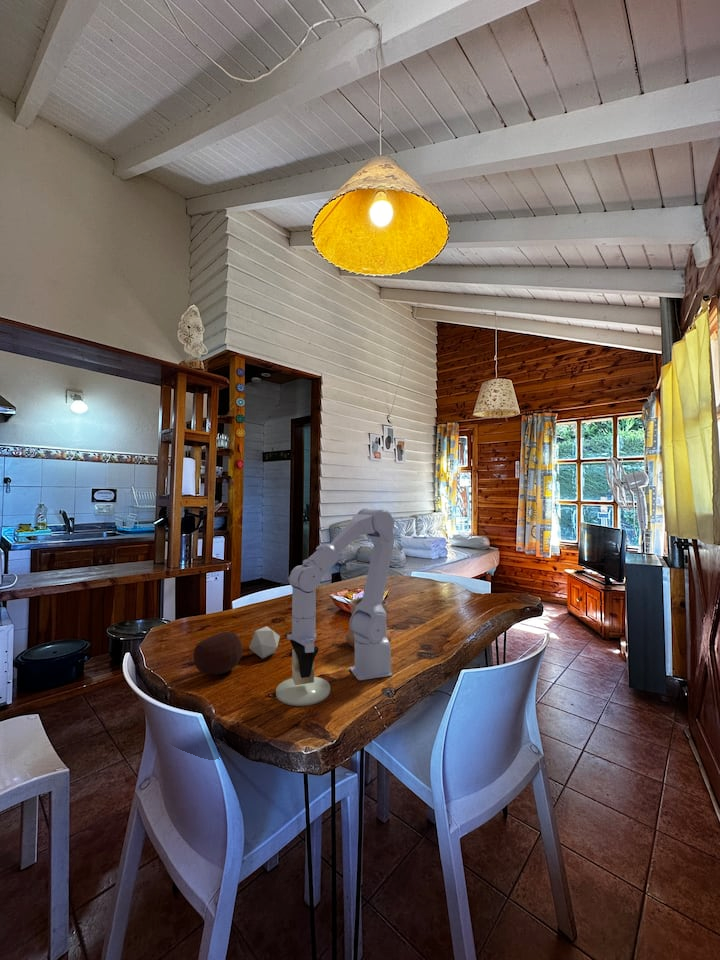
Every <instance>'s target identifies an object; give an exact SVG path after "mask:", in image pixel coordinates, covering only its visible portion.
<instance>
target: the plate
mask: <svg viewBox="0 0 720 960" xmlns="http://www.w3.org/2000/svg"><path fill="white" fill-rule="evenodd" d="M330 694H331V684H330V683H329V682H328V681H327V680H326V679H324V678H321V677H317V676H314V683H307V684H300V685H295V684H294V681H293V679H292V677H291V678H287V679H285V680H284V681H282V682H281V683H279V684H278V686H277V687H276V688H275V697H276V699H277V700H278V701H279V702H280V703H283V704H285V705H288V706H295V707H296V706H297V707H305V706H311V705H315V704H319V703H321V702H323V701H324V700H326V699H327V698H328V697H329V696H330Z"/></svg>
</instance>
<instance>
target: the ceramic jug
mask: <svg viewBox="0 0 720 960" xmlns="http://www.w3.org/2000/svg"><path fill="white" fill-rule="evenodd" d="M362 599H363V596H361V597H356V598H352V599H351V600H350V601H349V607H350V613H351V616H352V615H353V613H354V611H355V607H356V605H357V604H359V603H360V602H361V601H362ZM382 607H383V608H384V610H385V612H386V613H387V609H388V601H387V600H385V599H383V601H382ZM384 637H386V638H387V639H388V641H389V643H390V644H391V640H392V634H391V631H389V629H387V631H386V634H385V636H384ZM345 639H346V642H347V643H348V645H349V646H351V648H354V649H355V637H354V632H352V630H351V629H350V628H349V629H348V630H347V632H346V635H345Z"/></svg>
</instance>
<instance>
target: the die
mask: <svg viewBox="0 0 720 960" xmlns="http://www.w3.org/2000/svg"><path fill="white" fill-rule="evenodd" d="M280 638H281V636H280V635H279V634H277V632H275V631H274V630H272V629H271V628H270V627H269V626H263V627H262V628H259V629H257V630H255V631H254V634H253V637H252V638H251V642H250V644H249V648H248V649H250V651H252V653H253V652H254V653H255V654H256V655H257V656H258V657H260V658H261V659H262V660H263V659H265V658H267V657H269V656H271V655H273V654H275V652H276V650H277V649H278V646H279V641H280Z"/></svg>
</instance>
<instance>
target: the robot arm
mask: <svg viewBox="0 0 720 960" xmlns="http://www.w3.org/2000/svg"><path fill="white" fill-rule="evenodd" d="M395 523H396V520H395V519H394V517H393V515H392V513H390V511H389V510H387V509H384V508H383V509H382V508H381V509H369V508H362V509H360V510H359V511H358V512H357V513H356V514H354V515H353V516H352V517H351V520H350V522H349V523H348V524H347V525H346V526H345V527H344V528H343V529H342V530H341V531H340V532H339V533H338V535H337V536H335V537H334V539H333V540H332V541H330V543H329V544H328V543H327V544H326V543H325V544H324V543H323V544H322V545H318V546H317V547H316V548H315V551H314V552H313V554H311V555H310V556H309V557H308V558H307V559H304V560H302V564H300V565H296V566H295V567H293V568H292V570H291V571H290V574H289V576H288V577H287V580H288V583H289V585H290V587H291V588H292V596H291V598H292V601H291V603H292V604H291V633H290V634H289V633H287V635H286V639H287V640H289V642H290V644H291V646H292V648H294V650H295V652H296V655H297V658H298V662H299V670H300V675H301V678H306V677H310V675H311V671H312V666H313V662H314V663H315V659H316V657H317V654H318V652H319V649H320V648H319V647H318V645H316V646H315V642H316V638H317V632H316V631H317V630H316V624H317V623H316V621H317V619H316V617H317V615H316V613H317V612H316V609H317V608H316V607H317V603H316V602H317V601H316V600H317V592H316V591H317V590H316V589H318V588H319V586H320V584H321V581H322V578H323V577H324V576H325V575H326V573H328V571H330V569H331V568H332V567H334V565H336V564H337V563H338V562H339V558H340V556H339V555H340V554H341V552H342V551H344V550H345V549H346V548H347V547H348V546H349V545H351V544H352V543H353V542H354V541H355V540H356V539H357V538H358V537H359V536H361V535H366V536H367V537H368V538H369V540H371V542H372V544H373V547H372V553H371V557H370V562H369V566H368V571H367V575H366V579H365V580H366V581H365V584H364V585H365V586H364V589H363V595H362V597H363V599H362V601H361V602H360V603H359V604H357V605H356V607H355V611H354V613H353V615H352V614H351V616H350V618H349V623H348V624H349V629H351V630H352V632H354V637H355V648H354V665H353V666H350V667H349V670H350V672H351V673H352V674H353V676H354V677H355V678H356V679H357V680H358V681H367V680H372V679H379V678H385V677H390V676H393V673H392V664H391V663H392V654H391V653H392V649H391V642H390V643H389V641H388V639H387V638H386V637H384V636H385V634H386V631H387V630H388V629H387V628H388V627H387V616H388V615H387V611H386V612H385V610H384V608H383V607H382V601H383V600H384V595H385V591H386V585H387V581H388V574H389V570H390V566H391V560H392V556H393V550H394V545H395V536H394V527H395Z"/></svg>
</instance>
